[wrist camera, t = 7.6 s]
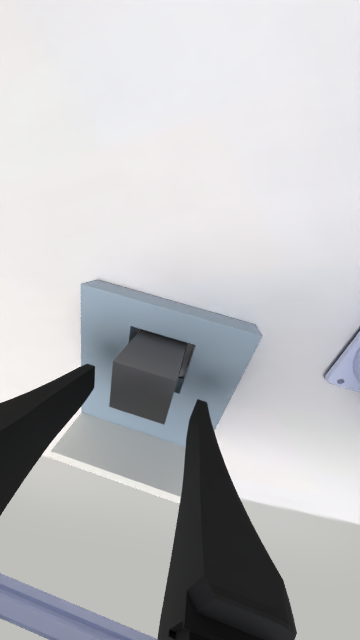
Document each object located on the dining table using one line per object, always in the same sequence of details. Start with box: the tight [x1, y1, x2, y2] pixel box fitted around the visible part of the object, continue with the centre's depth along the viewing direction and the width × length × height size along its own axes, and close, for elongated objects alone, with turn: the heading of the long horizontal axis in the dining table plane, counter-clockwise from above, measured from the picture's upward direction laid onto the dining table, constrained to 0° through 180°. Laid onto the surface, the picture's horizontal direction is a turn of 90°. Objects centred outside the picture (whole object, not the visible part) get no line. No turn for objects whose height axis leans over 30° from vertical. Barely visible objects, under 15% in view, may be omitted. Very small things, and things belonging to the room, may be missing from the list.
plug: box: [109, 329, 187, 425], centre depth 14 cm, size 4×4×6 cm
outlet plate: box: [51, 280, 262, 504], centre depth 15 cm, size 14×16×6 cm
